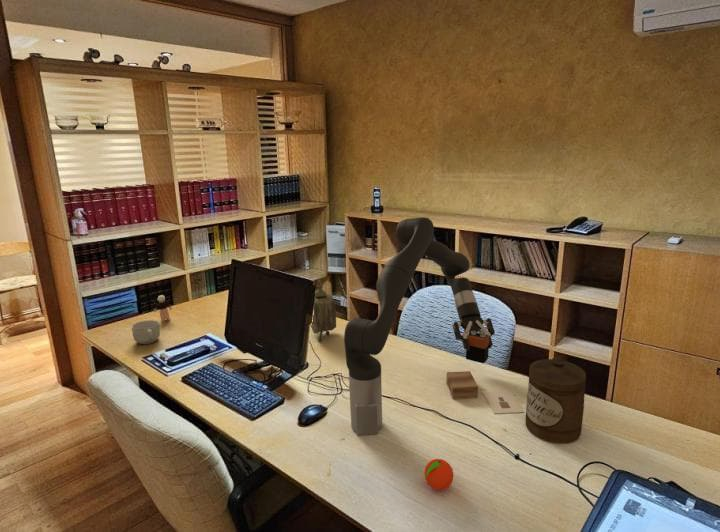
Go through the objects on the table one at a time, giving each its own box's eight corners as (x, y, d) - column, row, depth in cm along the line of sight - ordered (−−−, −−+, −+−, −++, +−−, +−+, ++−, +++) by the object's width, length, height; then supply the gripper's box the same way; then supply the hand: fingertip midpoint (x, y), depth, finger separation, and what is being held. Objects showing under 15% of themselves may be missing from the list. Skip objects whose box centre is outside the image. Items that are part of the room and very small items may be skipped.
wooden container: (514, 419, 139) (518, 352, 133) (554, 408, 144) (560, 342, 138) (550, 450, 126) (557, 376, 120) (593, 436, 131) (601, 364, 125)
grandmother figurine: (171, 317, 227) (167, 292, 223) (174, 319, 224) (170, 294, 221) (155, 321, 222) (150, 296, 219) (157, 324, 219) (153, 298, 216)
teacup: (134, 339, 204) (131, 322, 202) (161, 334, 208) (158, 317, 206) (134, 352, 192) (131, 333, 190) (163, 346, 196) (160, 328, 194)
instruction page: (523, 412, 143) (523, 411, 143) (493, 413, 143) (493, 412, 142) (510, 391, 154) (510, 390, 154) (482, 392, 154) (482, 391, 154)
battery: (469, 354, 169) (470, 328, 166) (488, 359, 165) (489, 332, 162) (465, 359, 165) (466, 333, 162) (484, 364, 161) (485, 337, 159)
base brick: (477, 397, 151) (478, 386, 150) (452, 398, 151) (453, 387, 150) (469, 381, 161) (470, 371, 160) (446, 382, 161) (446, 372, 160)
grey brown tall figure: (309, 330, 207) (305, 276, 200) (329, 327, 209) (326, 273, 202) (316, 344, 193) (312, 286, 186) (337, 340, 196) (334, 283, 189)
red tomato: (435, 503, 109) (435, 477, 107) (415, 486, 115) (415, 461, 113) (459, 487, 114) (460, 463, 112) (438, 472, 119) (439, 448, 117)
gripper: (450, 303, 166) (463, 347, 158) (488, 299, 168) (502, 342, 160) (445, 312, 172) (456, 355, 164) (481, 308, 175) (494, 350, 167)
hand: (479, 348), depth 162 cm, fingers closed on battery, 7 cm apart
